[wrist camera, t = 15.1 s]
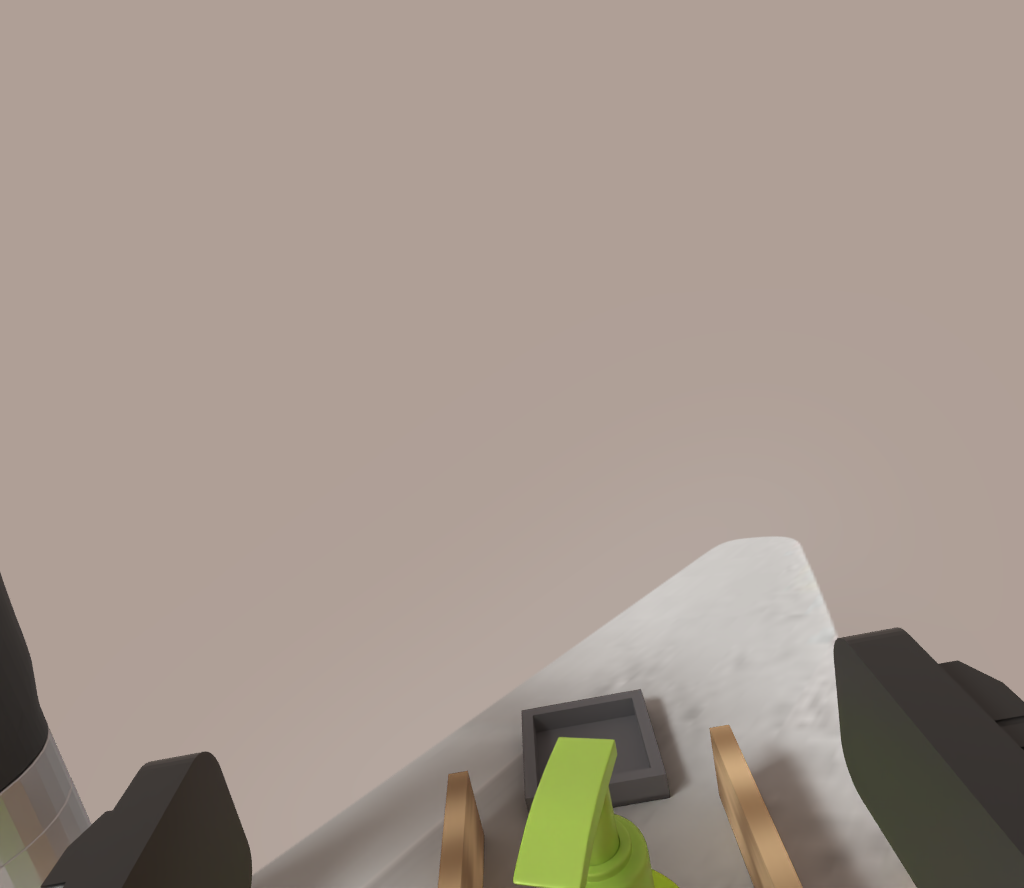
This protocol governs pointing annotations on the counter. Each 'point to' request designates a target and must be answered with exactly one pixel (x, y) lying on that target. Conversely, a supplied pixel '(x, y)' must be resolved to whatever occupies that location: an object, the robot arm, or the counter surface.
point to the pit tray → (599, 719)
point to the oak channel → (736, 791)
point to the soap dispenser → (582, 826)
